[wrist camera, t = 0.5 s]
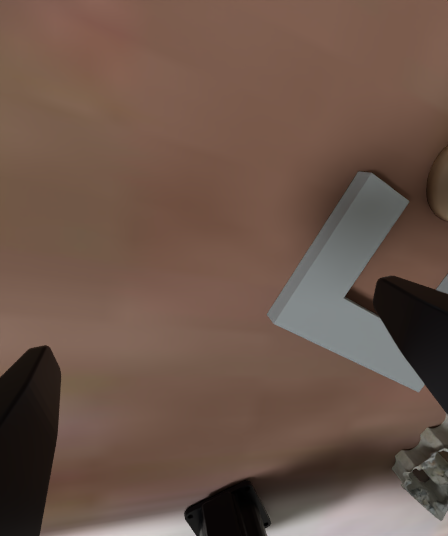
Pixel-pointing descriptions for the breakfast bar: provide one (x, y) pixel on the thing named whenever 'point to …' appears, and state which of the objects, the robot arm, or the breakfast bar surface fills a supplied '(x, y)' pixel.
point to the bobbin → (439, 185)
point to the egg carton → (427, 470)
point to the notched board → (347, 282)
